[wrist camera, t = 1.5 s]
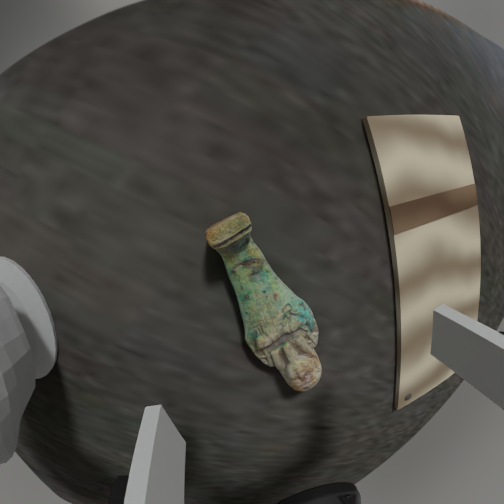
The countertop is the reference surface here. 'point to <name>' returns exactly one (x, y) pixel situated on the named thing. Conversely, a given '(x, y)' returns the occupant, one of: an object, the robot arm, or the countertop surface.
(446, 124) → the board
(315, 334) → the figurine
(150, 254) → the countertop surface
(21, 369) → the bust with hat
